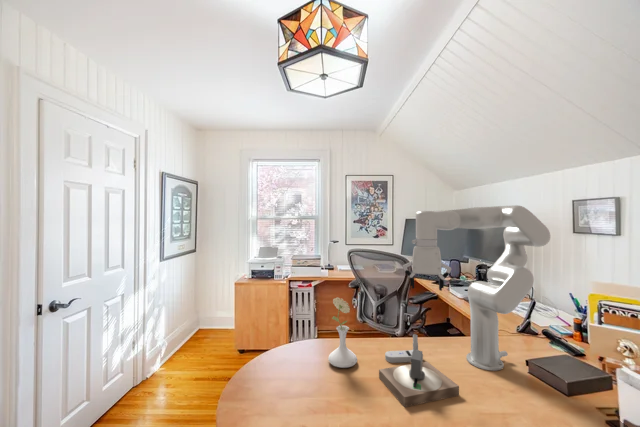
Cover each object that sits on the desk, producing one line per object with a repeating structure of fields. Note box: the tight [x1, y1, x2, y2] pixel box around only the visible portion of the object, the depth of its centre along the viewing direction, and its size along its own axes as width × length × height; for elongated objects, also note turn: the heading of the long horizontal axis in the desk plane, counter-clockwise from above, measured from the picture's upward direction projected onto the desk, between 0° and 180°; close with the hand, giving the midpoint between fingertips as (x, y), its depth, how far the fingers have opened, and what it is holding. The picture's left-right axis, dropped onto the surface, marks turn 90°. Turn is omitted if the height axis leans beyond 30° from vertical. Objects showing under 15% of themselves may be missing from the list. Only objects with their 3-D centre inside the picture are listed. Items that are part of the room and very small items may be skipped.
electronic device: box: [384, 333, 424, 364], centre depth 113 cm, size 5×10×15 cm
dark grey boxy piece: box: [409, 349, 425, 387], centre depth 94 cm, size 10×5×7 cm, turn 155°
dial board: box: [378, 361, 460, 408], centre depth 95 cm, size 20×16×3 cm
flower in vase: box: [327, 297, 358, 369], centre depth 111 cm, size 13×11×25 cm
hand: (426, 288), depth 106 cm, fingers open, 9 cm apart
